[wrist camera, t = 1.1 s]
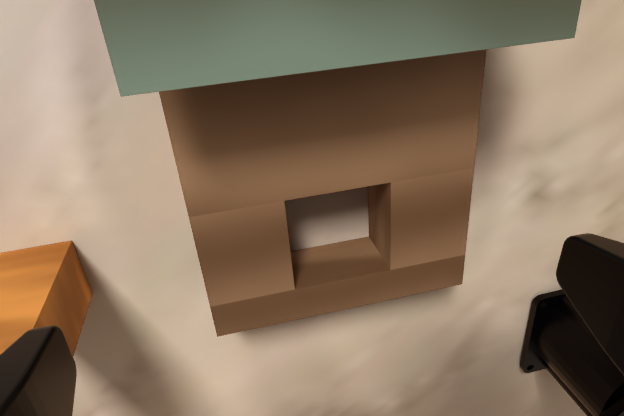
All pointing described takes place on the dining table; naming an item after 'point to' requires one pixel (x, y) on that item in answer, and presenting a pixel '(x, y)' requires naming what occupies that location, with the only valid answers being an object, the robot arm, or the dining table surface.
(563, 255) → the robot arm
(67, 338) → the peg
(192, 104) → the socket board
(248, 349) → the dining table surface
